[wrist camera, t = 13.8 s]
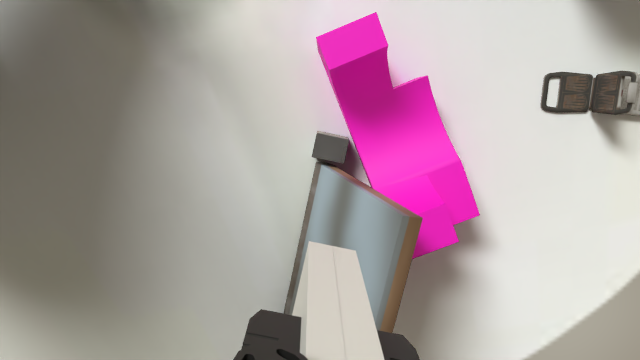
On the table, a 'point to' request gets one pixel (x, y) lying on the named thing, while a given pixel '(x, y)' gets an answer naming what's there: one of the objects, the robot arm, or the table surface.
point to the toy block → (397, 133)
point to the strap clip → (595, 93)
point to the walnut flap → (360, 237)
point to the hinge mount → (330, 147)
